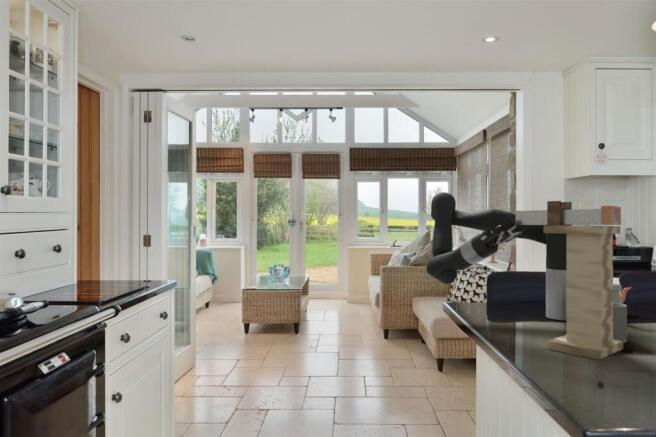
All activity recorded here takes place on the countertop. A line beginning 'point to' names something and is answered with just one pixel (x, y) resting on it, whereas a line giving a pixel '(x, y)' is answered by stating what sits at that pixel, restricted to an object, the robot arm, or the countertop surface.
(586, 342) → the shelf stand
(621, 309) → the coffee mug
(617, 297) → the salt shaker
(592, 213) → the bar
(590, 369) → the countertop surface
